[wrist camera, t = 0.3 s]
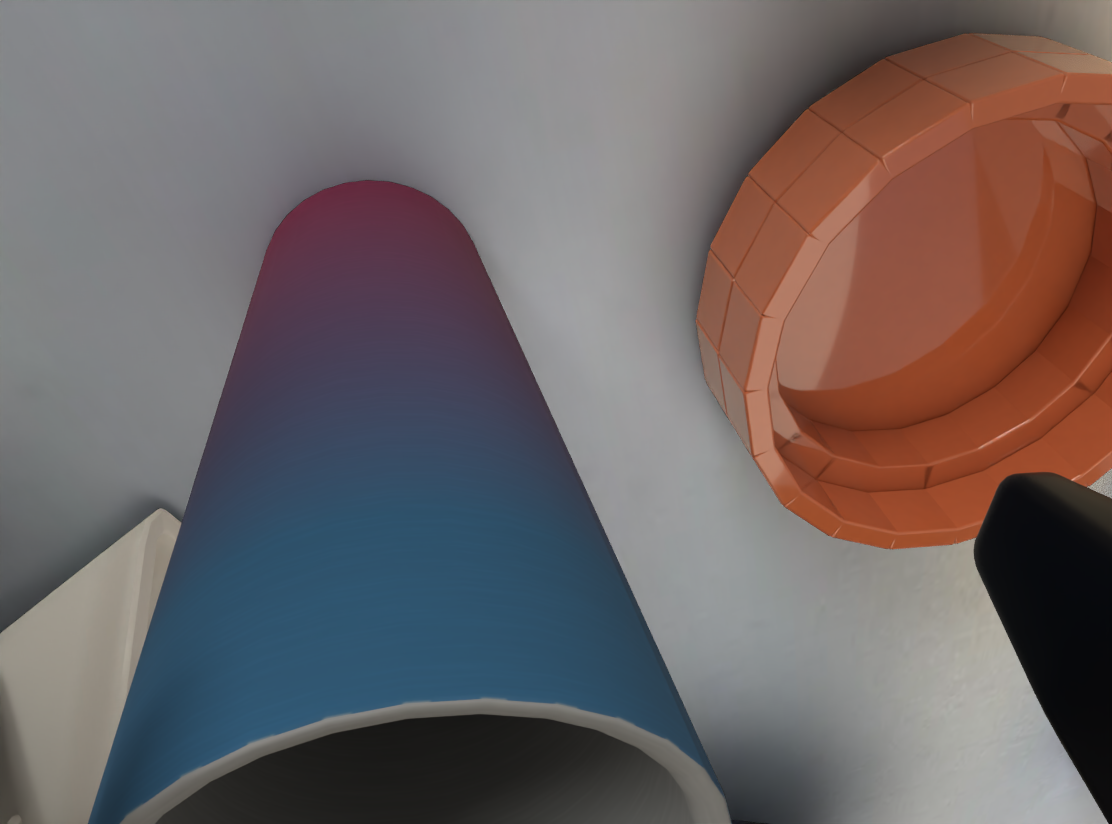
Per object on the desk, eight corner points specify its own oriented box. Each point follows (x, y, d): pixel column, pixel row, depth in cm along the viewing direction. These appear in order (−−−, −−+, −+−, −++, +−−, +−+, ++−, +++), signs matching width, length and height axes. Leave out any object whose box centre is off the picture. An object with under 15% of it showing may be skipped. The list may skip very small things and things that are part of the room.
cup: (349, 448, 24) (362, 1123, 12) (153, 253, 20) (-118, 955, 8) (569, 308, 23) (824, 894, 11) (405, 75, 19) (522, 578, 7)
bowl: (1031, 449, 29) (1118, 533, 26) (659, 469, 27) (704, 564, 23) (1214, 40, 22) (1361, 84, 19) (740, 16, 20) (818, 62, 17)
